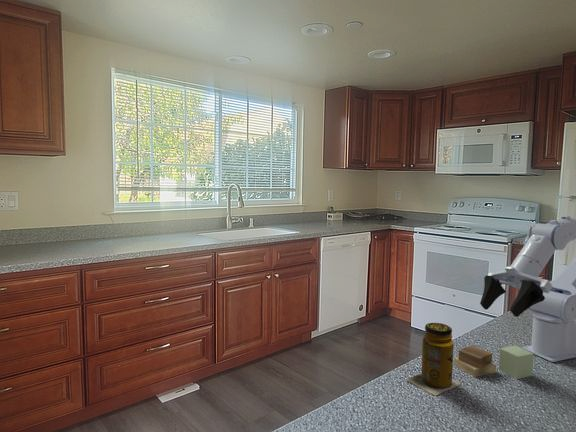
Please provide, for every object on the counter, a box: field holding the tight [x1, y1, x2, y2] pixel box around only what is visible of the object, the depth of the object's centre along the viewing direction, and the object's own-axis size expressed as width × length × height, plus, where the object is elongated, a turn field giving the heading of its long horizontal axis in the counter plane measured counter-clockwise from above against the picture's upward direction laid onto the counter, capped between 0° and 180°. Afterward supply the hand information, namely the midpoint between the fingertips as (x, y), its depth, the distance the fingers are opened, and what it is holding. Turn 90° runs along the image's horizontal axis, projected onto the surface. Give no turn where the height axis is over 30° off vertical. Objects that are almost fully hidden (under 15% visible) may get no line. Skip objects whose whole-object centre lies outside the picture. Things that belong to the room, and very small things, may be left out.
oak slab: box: [453, 356, 497, 378], centre depth 88 cm, size 6×6×2 cm
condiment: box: [405, 322, 462, 397], centre depth 81 cm, size 7×8×12 cm
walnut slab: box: [458, 345, 493, 368], centre depth 88 cm, size 5×5×2 cm
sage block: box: [498, 345, 534, 380], centre depth 86 cm, size 4×4×5 cm
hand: (497, 309), depth 85 cm, fingers open, 7 cm apart
